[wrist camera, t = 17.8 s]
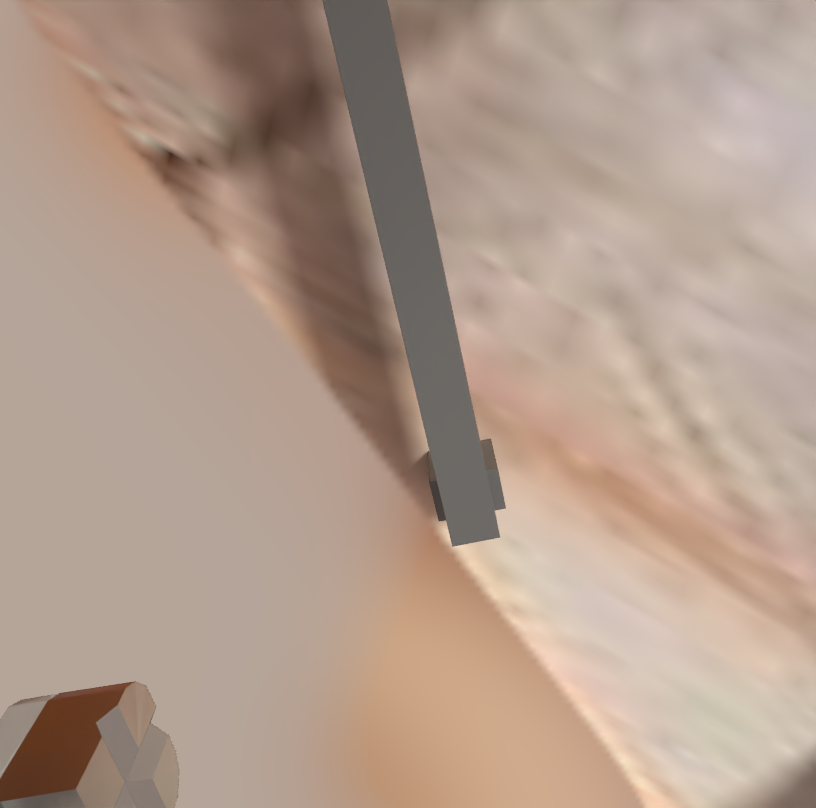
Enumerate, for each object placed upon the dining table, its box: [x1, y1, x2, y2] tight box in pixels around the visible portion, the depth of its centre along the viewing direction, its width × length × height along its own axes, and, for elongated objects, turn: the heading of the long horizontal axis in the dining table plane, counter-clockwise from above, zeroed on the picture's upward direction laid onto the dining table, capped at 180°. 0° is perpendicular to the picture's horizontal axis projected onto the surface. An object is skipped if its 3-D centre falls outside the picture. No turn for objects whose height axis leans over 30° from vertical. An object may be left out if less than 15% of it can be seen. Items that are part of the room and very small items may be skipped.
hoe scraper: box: [323, 0, 506, 547], centre depth 23 cm, size 28×9×4 cm, turn 13°
